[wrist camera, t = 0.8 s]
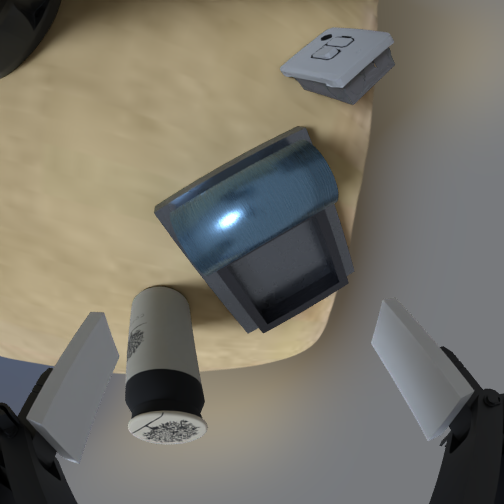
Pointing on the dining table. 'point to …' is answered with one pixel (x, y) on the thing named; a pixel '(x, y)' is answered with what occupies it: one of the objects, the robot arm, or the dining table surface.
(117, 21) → the dining table surface
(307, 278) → the base
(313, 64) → the electrical switch
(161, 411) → the travel mug
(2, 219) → the dining table surface
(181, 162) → the dining table surface
